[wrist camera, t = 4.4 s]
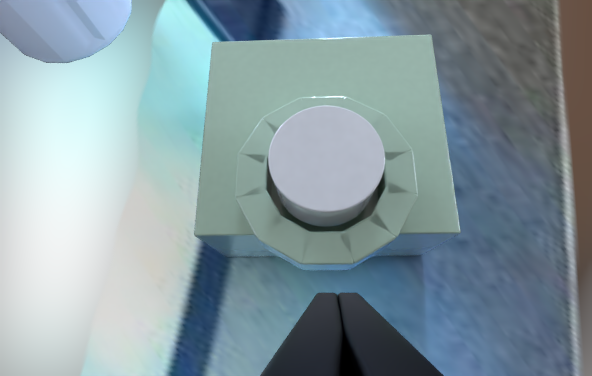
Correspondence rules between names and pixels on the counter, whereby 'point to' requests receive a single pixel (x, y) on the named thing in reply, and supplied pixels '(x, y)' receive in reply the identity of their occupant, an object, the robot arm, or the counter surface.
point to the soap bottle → (62, 26)
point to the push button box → (325, 92)
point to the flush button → (326, 164)
